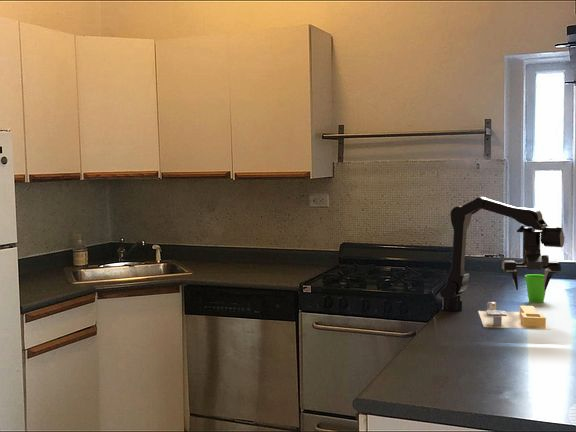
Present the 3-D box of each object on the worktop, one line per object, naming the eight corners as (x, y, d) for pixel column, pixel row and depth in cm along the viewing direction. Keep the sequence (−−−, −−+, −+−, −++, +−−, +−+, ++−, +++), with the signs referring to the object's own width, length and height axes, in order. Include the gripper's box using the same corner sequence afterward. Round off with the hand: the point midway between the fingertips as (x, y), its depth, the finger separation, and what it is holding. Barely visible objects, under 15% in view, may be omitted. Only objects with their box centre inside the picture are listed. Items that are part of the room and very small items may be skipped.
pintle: (487, 314, 249) (488, 303, 249) (487, 312, 252) (487, 301, 252) (496, 314, 249) (496, 303, 248) (495, 312, 252) (495, 301, 251)
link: (516, 313, 250) (516, 305, 250) (536, 314, 248) (536, 306, 248) (523, 326, 231) (523, 317, 231) (545, 326, 230) (545, 317, 230)
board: (483, 329, 231) (483, 326, 231) (478, 313, 255) (478, 310, 255) (550, 332, 227) (550, 329, 227) (537, 315, 251) (538, 312, 251)
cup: (533, 307, 265) (533, 278, 264) (519, 302, 274) (519, 274, 273) (553, 305, 268) (554, 277, 267) (539, 301, 276) (539, 273, 276)
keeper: (506, 326, 231) (507, 315, 230) (488, 326, 232) (488, 314, 231) (504, 321, 238) (504, 310, 237) (486, 321, 239) (486, 310, 238)
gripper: (506, 248, 232) (506, 294, 234) (565, 248, 229) (564, 295, 231) (502, 244, 243) (501, 288, 245) (557, 244, 240) (557, 289, 242)
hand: (530, 290), depth 240 cm, fingers open, 9 cm apart
